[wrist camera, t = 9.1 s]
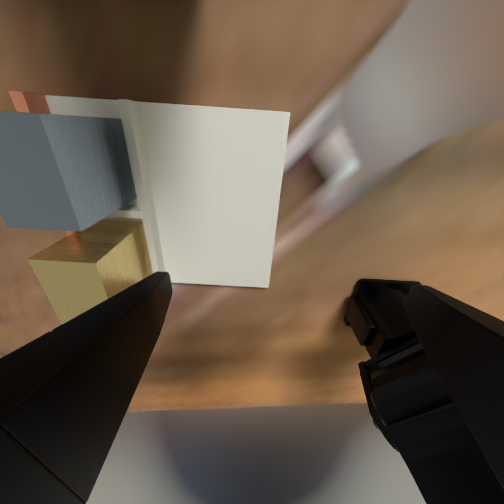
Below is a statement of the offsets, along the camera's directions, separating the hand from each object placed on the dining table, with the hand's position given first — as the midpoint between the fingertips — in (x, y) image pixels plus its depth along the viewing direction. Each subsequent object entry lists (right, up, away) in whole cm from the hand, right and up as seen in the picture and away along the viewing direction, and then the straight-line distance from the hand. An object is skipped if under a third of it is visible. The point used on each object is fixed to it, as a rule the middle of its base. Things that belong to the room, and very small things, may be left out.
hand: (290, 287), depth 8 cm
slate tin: (-13, +8, +8) cm, 17 cm away
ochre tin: (-13, +2, +12) cm, 18 cm away
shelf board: (-8, +5, +11) cm, 14 cm away
